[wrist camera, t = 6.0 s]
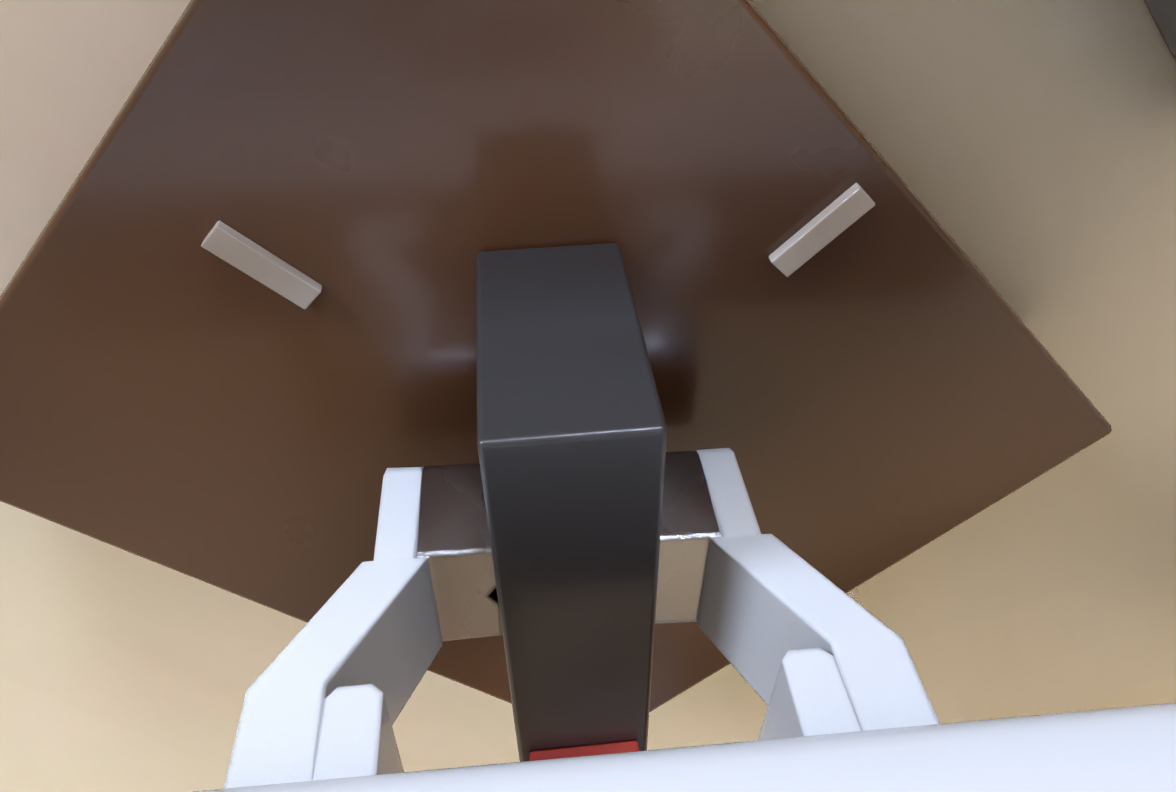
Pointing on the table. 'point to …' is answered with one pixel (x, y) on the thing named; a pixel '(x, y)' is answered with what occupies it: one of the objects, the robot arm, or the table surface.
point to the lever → (570, 493)
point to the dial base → (448, 292)
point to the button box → (1165, 20)
